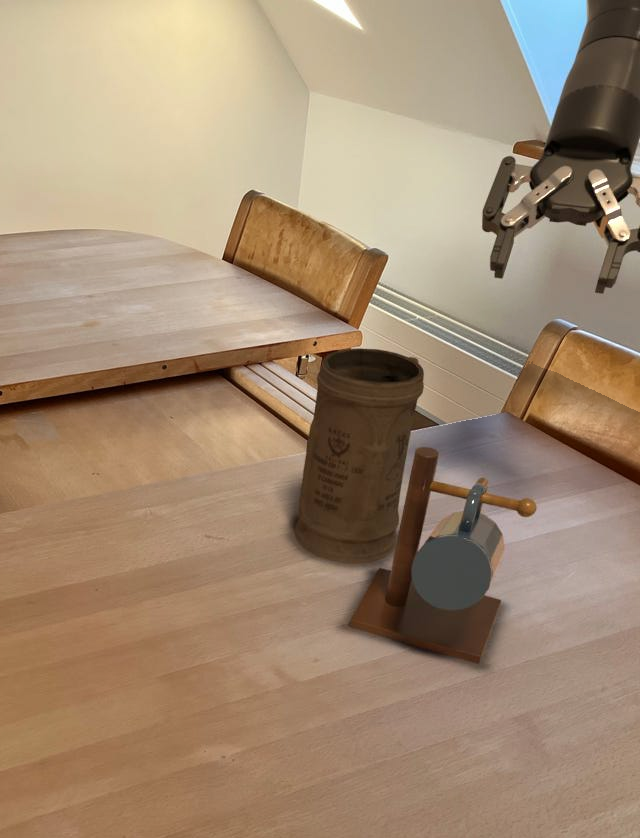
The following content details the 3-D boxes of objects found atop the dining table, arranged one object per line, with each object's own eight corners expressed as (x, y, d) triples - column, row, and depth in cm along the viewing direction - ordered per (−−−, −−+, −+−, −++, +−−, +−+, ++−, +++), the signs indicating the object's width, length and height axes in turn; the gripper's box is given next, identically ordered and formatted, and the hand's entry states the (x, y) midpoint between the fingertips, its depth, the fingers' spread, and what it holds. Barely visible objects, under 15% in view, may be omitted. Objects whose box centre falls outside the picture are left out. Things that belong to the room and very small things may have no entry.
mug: (403, 598, 82) (423, 569, 90) (479, 619, 80) (493, 587, 88) (431, 486, 78) (450, 465, 86) (512, 505, 76) (524, 482, 84)
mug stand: (506, 614, 93) (554, 453, 83) (486, 672, 86) (536, 504, 76) (376, 580, 98) (407, 422, 87) (347, 632, 90) (377, 467, 80)
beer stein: (372, 583, 97) (413, 388, 86) (274, 552, 101) (302, 363, 90) (417, 526, 108) (459, 348, 97) (328, 500, 112) (358, 327, 101)
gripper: (520, 75, 84) (466, 246, 83) (698, 89, 79) (643, 270, 78) (515, 133, 91) (465, 291, 90) (679, 148, 86) (628, 315, 85)
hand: (548, 281), depth 84 cm, fingers open, 8 cm apart
